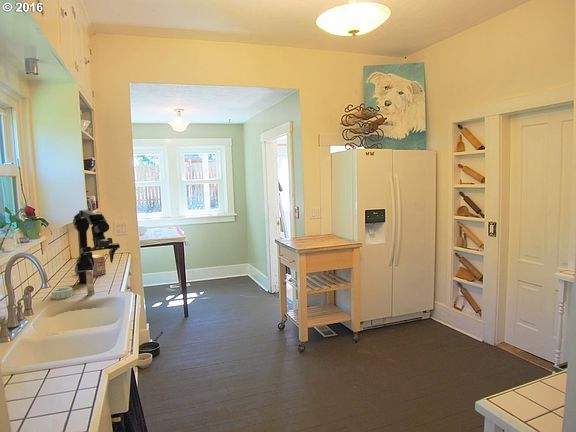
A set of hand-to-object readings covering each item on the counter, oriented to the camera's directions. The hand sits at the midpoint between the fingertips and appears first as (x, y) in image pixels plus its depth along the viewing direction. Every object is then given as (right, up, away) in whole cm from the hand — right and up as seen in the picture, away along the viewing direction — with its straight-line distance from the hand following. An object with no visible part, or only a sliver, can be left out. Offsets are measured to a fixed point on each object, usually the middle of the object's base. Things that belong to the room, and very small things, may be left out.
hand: (102, 264), depth 204 cm
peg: (-5, -16, -2) cm, 17 cm away
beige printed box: (-32, -13, +50) cm, 61 cm away
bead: (-19, -16, -4) cm, 26 cm away
